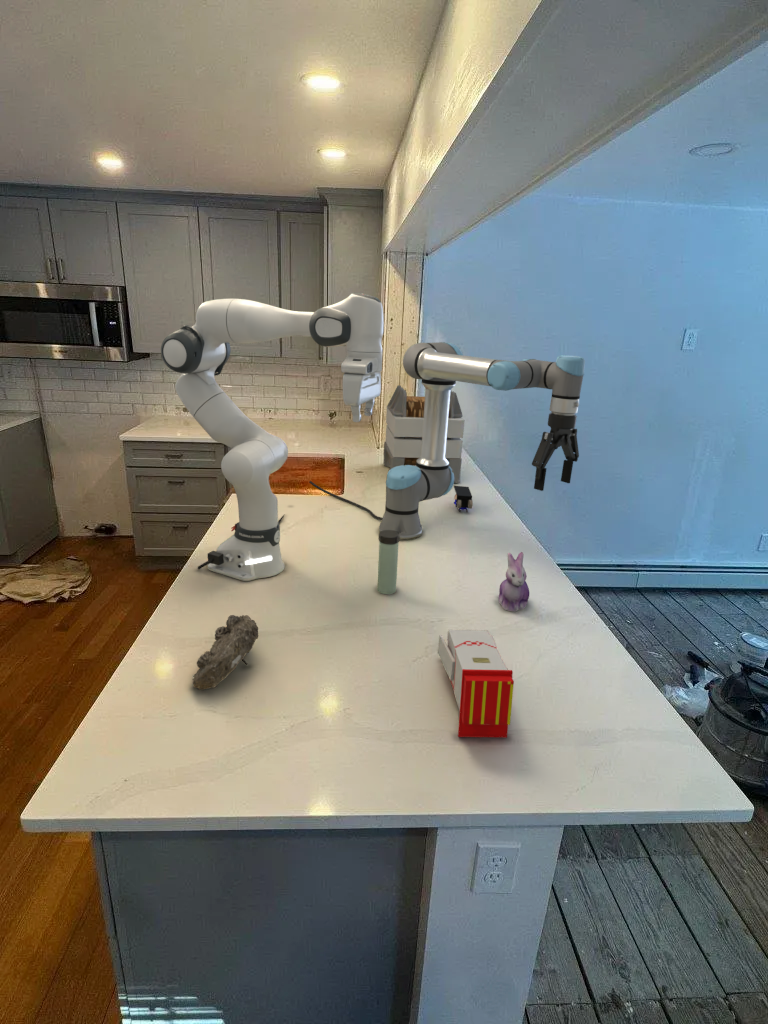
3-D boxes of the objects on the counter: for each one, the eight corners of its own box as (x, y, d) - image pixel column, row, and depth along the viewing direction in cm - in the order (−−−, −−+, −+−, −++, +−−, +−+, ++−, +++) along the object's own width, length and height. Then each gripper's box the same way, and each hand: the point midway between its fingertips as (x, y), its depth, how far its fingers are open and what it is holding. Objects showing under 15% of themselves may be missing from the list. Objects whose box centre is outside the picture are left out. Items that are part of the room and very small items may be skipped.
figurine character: (472, 517, 222) (467, 501, 236) (475, 500, 219) (469, 484, 233) (455, 517, 222) (451, 500, 236) (457, 499, 219) (452, 484, 232)
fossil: (212, 617, 133) (257, 588, 128) (239, 645, 136) (285, 617, 131) (172, 683, 114) (224, 651, 109) (205, 714, 117) (258, 684, 112)
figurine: (511, 616, 149) (518, 564, 143) (487, 598, 157) (493, 549, 152) (539, 609, 153) (547, 558, 148) (514, 592, 161) (521, 544, 156)
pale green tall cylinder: (386, 583, 163) (388, 530, 158) (399, 590, 160) (402, 535, 154) (373, 589, 160) (375, 534, 154) (386, 596, 156) (389, 540, 151)
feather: (291, 508, 223) (294, 504, 222) (274, 533, 196) (277, 528, 195) (287, 506, 222) (290, 502, 222) (270, 530, 196) (272, 526, 195)
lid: (388, 534, 159) (388, 528, 158) (403, 540, 155) (404, 534, 154) (374, 539, 155) (374, 533, 154) (389, 546, 151) (389, 539, 150)
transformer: (382, 463, 289) (386, 382, 275) (445, 464, 293) (451, 384, 279) (390, 482, 257) (394, 392, 243) (460, 483, 261) (468, 394, 247)
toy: (488, 613, 130) (523, 677, 101) (484, 667, 133) (517, 744, 104) (435, 612, 130) (455, 676, 101) (432, 666, 133) (451, 743, 103)
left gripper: (365, 359, 151) (363, 411, 156) (338, 365, 133) (337, 424, 137) (387, 360, 150) (385, 413, 154) (363, 367, 131) (362, 426, 136)
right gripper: (548, 419, 148) (537, 496, 155) (598, 411, 163) (586, 482, 171) (525, 414, 153) (515, 489, 160) (575, 407, 169) (564, 476, 176)
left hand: (362, 418), depth 146 cm, fingers open, 8 cm apart
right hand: (552, 485), depth 166 cm, fingers open, 13 cm apart
